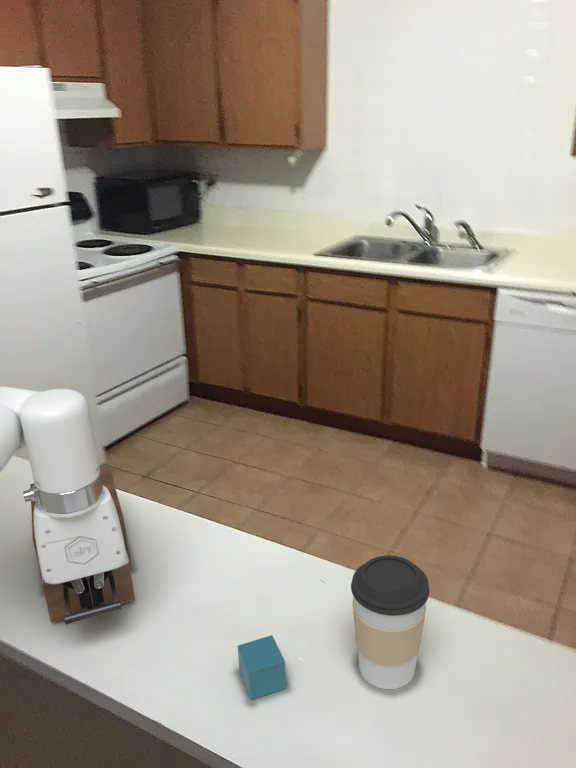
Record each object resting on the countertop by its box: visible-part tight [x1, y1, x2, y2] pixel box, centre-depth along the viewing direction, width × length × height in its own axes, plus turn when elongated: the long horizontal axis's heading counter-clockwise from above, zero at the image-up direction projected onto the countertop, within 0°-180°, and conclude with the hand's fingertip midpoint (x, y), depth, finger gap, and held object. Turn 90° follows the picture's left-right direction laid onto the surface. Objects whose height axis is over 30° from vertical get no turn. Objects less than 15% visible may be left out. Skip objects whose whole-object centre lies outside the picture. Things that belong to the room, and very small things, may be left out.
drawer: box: [39, 550, 136, 626], centre depth 94 cm, size 21×11×8 cm, turn 21°
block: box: [237, 634, 287, 701], centre depth 81 cm, size 4×4×4 cm
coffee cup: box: [350, 554, 430, 690], centre depth 80 cm, size 9×9×15 cm
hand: (93, 608), depth 88 cm, fingers closed
